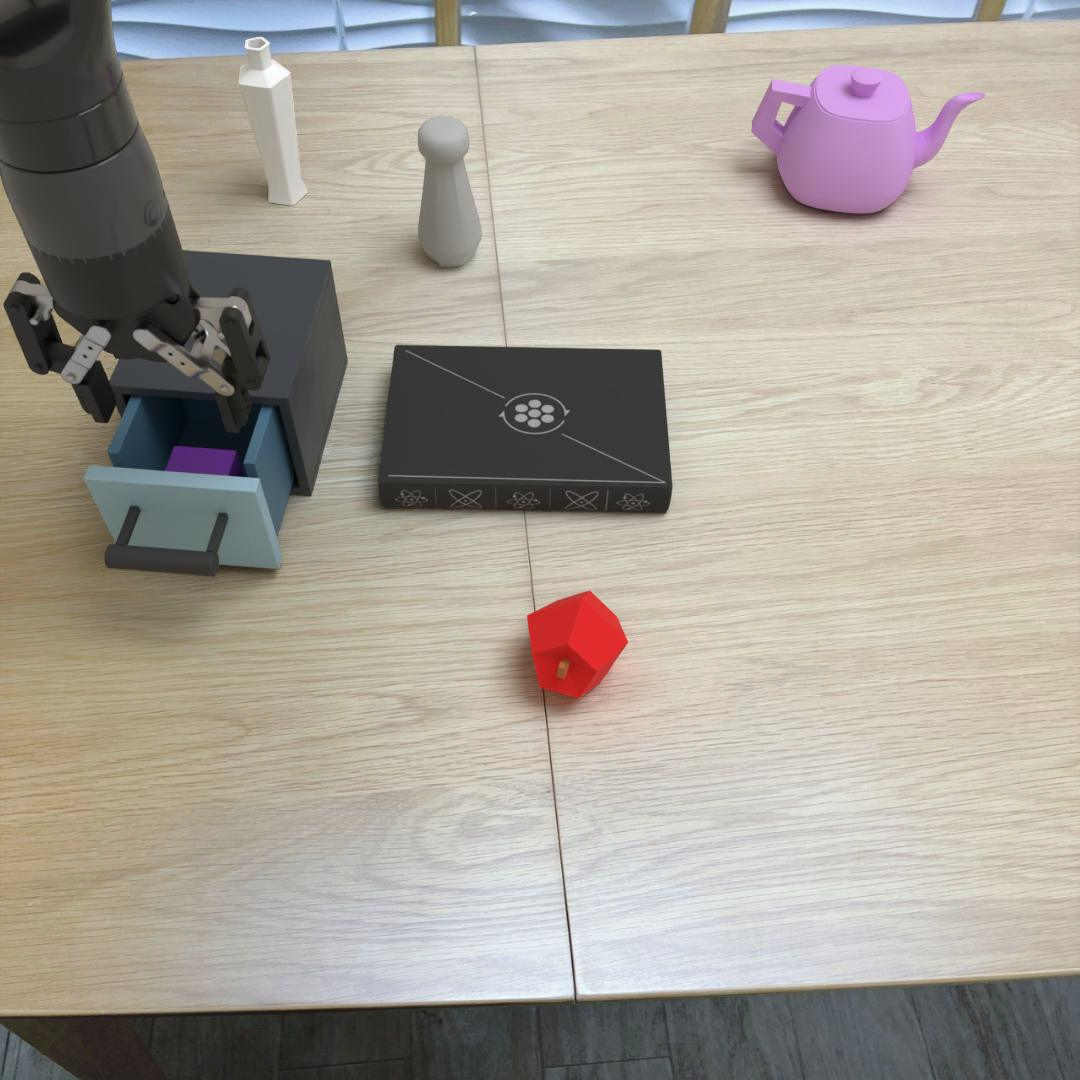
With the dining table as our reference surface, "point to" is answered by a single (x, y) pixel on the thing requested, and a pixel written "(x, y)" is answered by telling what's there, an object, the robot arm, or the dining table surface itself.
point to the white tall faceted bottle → (272, 121)
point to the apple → (574, 643)
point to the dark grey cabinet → (292, 340)
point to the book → (526, 429)
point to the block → (204, 461)
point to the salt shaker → (447, 194)
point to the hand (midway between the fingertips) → (171, 418)
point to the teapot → (850, 137)
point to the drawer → (192, 489)
